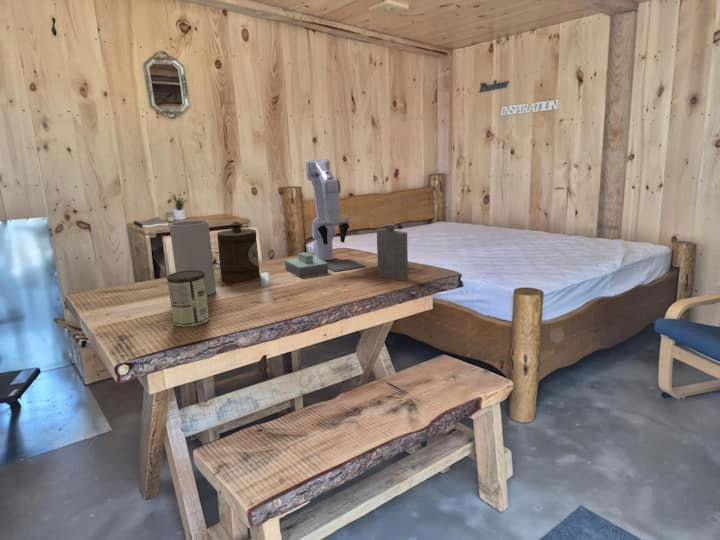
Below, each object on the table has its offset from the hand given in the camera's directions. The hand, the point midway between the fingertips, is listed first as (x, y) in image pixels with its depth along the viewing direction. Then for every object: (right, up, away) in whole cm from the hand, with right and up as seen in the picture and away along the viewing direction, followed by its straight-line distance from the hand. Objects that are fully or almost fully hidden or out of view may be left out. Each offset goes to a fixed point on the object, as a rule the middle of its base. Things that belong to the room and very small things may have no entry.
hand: (334, 243), depth 197 cm
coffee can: (-39, -26, -55) cm, 72 cm away
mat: (+3, -9, +6) cm, 11 cm away
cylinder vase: (-46, -19, -27) cm, 57 cm away
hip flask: (+22, -14, -15) cm, 30 cm away
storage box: (-11, -11, -1) cm, 16 cm away
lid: (-11, -9, -2) cm, 14 cm away
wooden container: (-36, -14, -7) cm, 40 cm away
